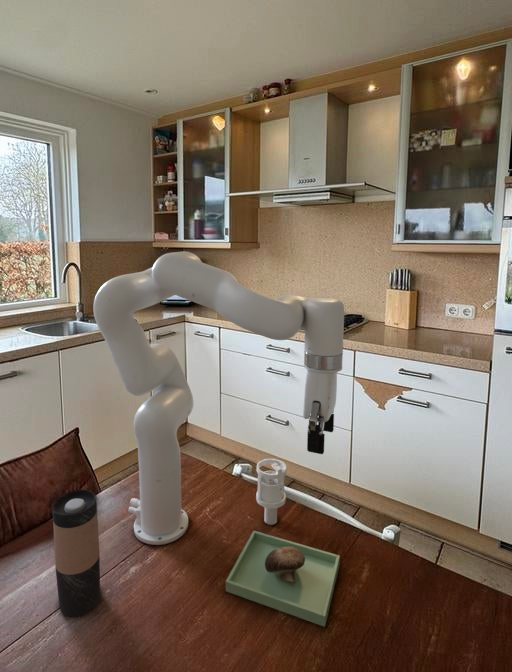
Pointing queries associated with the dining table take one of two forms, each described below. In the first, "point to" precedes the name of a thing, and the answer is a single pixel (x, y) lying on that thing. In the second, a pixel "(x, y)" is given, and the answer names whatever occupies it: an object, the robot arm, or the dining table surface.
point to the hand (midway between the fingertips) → (320, 440)
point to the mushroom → (285, 562)
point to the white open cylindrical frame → (271, 489)
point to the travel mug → (76, 552)
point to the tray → (270, 590)
